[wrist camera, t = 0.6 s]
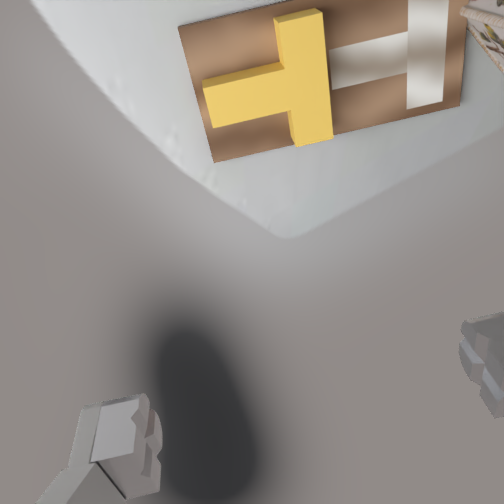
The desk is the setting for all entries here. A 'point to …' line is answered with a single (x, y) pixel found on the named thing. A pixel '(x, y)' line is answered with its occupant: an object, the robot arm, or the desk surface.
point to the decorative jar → (487, 27)
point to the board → (337, 64)
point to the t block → (281, 83)
